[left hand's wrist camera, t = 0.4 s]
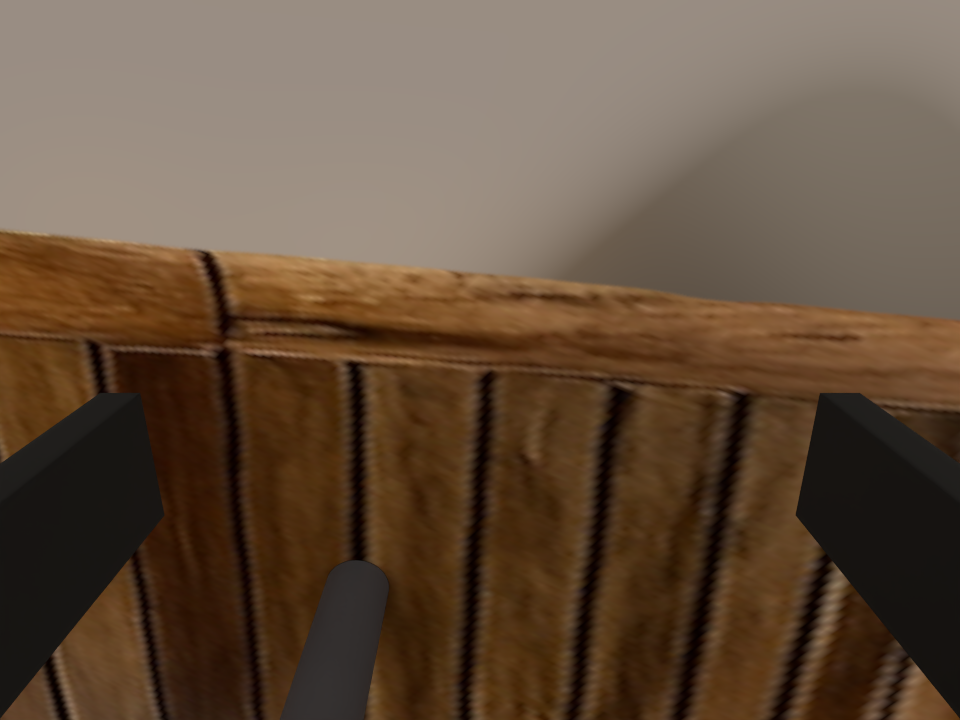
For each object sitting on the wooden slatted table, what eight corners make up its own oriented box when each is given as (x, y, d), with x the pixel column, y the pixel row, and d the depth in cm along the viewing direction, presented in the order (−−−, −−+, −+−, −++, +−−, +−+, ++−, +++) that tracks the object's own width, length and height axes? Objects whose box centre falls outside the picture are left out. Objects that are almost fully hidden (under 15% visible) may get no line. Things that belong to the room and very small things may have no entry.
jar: (371, 619, 49) (321, 848, 34) (316, 594, 48) (238, 817, 33) (400, 576, 48) (361, 794, 32) (343, 550, 47) (276, 760, 31)
